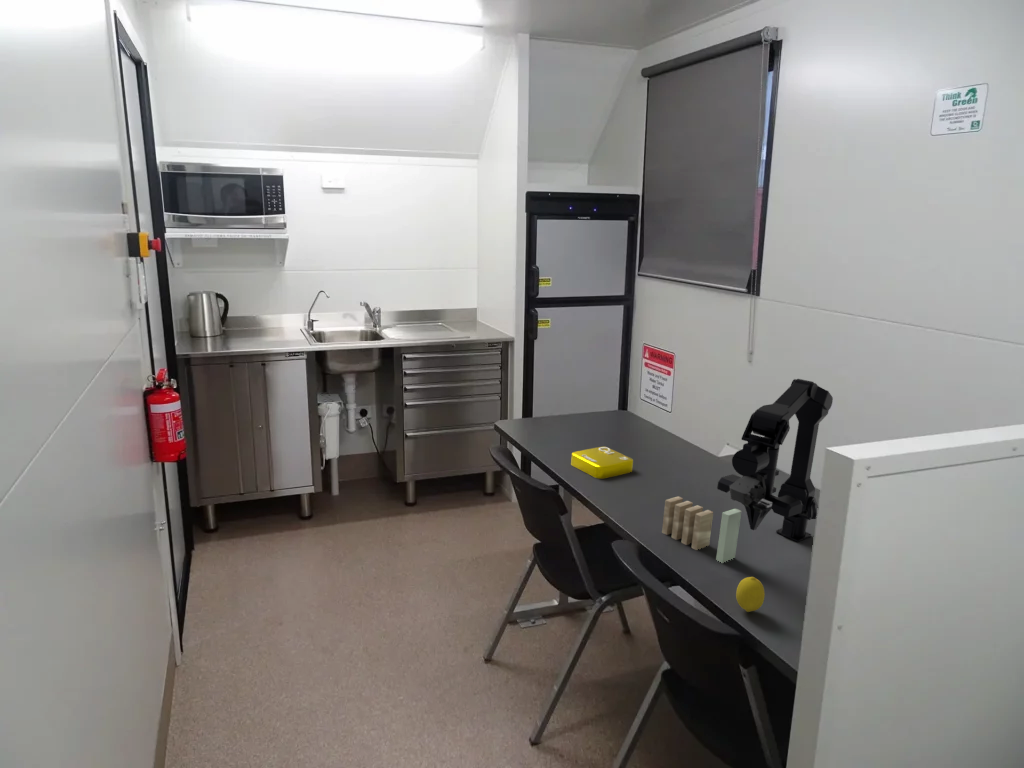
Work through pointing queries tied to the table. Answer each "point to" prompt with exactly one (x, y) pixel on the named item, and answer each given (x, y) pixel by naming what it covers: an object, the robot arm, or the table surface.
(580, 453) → the element tile
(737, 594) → the lemon
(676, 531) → the tile
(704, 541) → the tile
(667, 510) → the tile
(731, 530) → the head tile
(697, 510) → the tile
